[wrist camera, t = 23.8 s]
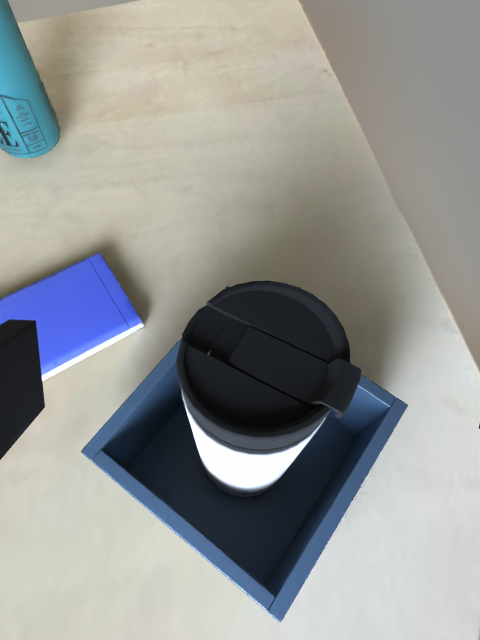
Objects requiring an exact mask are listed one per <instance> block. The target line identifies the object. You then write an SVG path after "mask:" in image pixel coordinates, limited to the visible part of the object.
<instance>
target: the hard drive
mask: <svg viewBox="0 0 480 640" xmlns="http://www.w3.org/2000/svg"><path fill="white" fill-rule="evenodd" d="M9 319H15V320H36V325H37V335H38V345H39V354H40V364H41V374H42V381H43V380H45V379H47V378H49V377H51V376H53V375H55V374H56V373H58V372H60V371H62V370H64V369H66V368H67V367H69V366H71V365H73V364H75V363H77V362H79V361H81V360H82V359H84V358H86V357H88V356H90V355H92V354H94V353H95V352H97V351H99V350H101V349H103V348H105V347H107V346H108V345H110V344H112V343H114V342H116V341H118V340H120V339H121V338H123V337H125V336H127V335H129V334H131V333H133V332H135V331H137V330H138V329H140V328H142V327H144V325H143V322H142V320H141V318H140V317H139V315H138V313H137V312H136V310H135V308H134V307H133V305H132V304H131V302H130V300H129V299H128V297H127V295H126V294H125V292H124V290H123V289H122V287H121V286H120V284H119V282H118V281H117V279H116V278H115V276H114V274H113V273H112V271H111V269H110V268H109V266H108V265H107V263H106V261H105V260H104V258H103V256H102V255H101V253H100V252H98V253H97V254H94V255H92V256H90V257H88V258H86V259H84V260H82V261H80V262H78V263H75V264H73V265H71V266H69V267H67V268H65V269H63V270H61V271H59V272H56V273H54V274H52V275H50V276H48V277H46V278H43V279H41V280H39V281H37V282H35V283H33V284H31V285H28V286H26V287H24V288H22V289H20V290H18V291H16V292H13V293H11V294H9V295H7V296H5V297H3V298H1V299H0V325H1V324H2V323H4V322H5V321H7V320H9Z"/></svg>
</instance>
